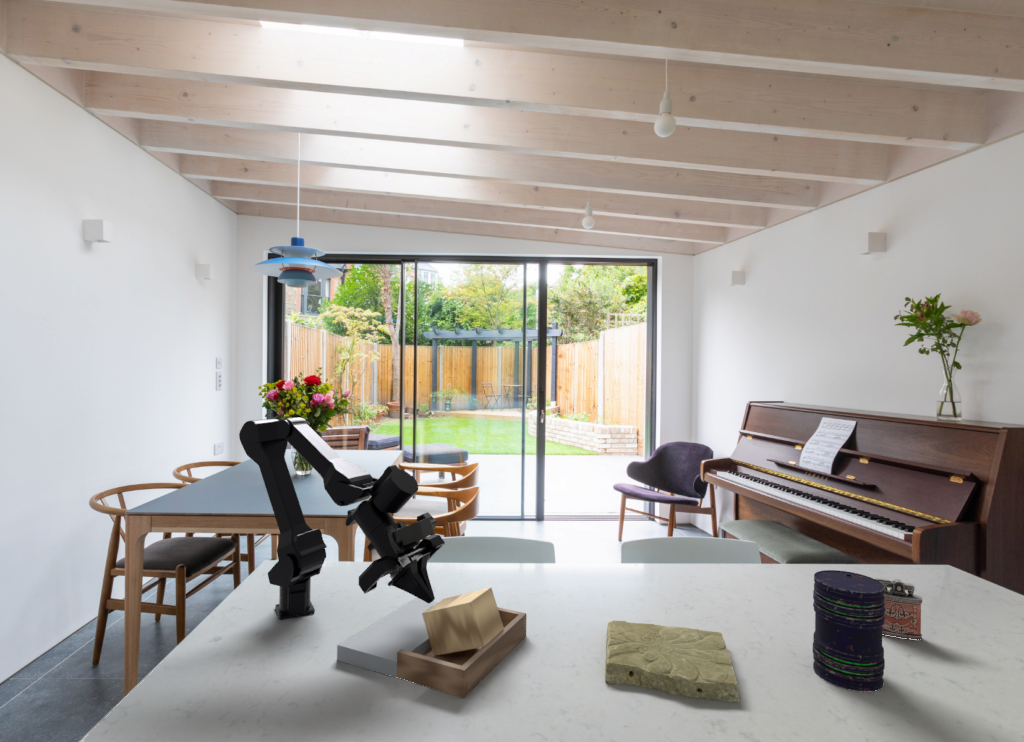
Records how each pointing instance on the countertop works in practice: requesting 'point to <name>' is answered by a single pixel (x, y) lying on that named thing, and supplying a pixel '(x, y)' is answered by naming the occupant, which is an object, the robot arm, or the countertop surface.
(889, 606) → the lighter
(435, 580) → the countertop surface
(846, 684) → the dark blue barrel
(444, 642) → the block
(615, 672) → the decorative tile
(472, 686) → the bin
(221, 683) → the countertop surface
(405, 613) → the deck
